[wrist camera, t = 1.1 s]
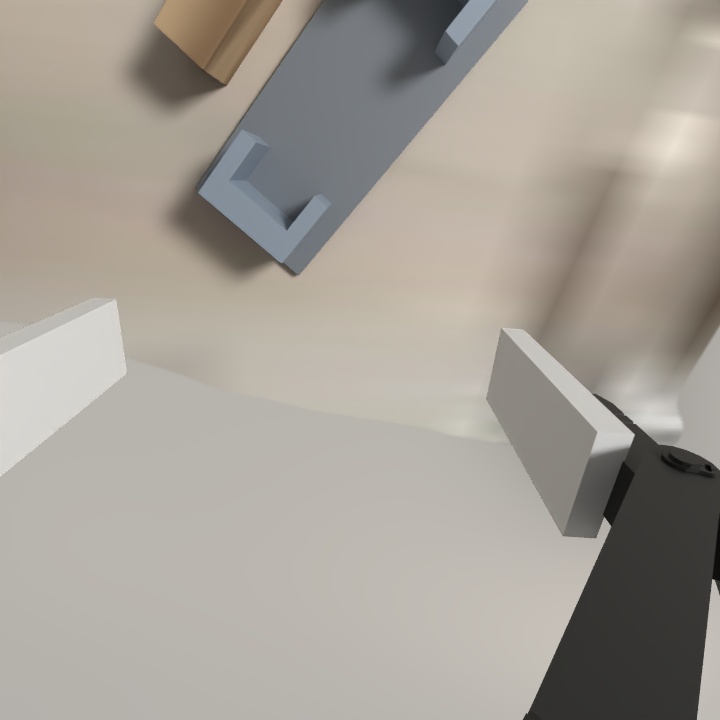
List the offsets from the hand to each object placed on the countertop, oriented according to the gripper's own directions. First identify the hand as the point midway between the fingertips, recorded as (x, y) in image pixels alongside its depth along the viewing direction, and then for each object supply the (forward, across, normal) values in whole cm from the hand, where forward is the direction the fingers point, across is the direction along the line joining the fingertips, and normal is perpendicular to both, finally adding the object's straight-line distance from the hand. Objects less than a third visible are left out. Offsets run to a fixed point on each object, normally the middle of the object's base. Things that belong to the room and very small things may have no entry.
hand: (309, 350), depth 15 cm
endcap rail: (+22, 0, +11) cm, 24 cm away
